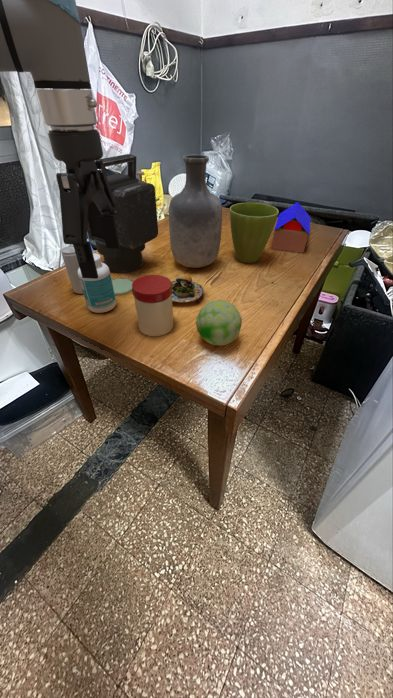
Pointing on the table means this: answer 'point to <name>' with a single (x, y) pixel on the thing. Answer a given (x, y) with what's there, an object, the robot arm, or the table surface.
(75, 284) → the beverage can
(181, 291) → the plate of food
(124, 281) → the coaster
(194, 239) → the vase
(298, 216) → the house
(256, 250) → the flower pot
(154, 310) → the jar
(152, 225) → the lantern
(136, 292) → the jar lid
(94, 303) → the pill bottle
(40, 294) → the table surface
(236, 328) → the decorative ball
